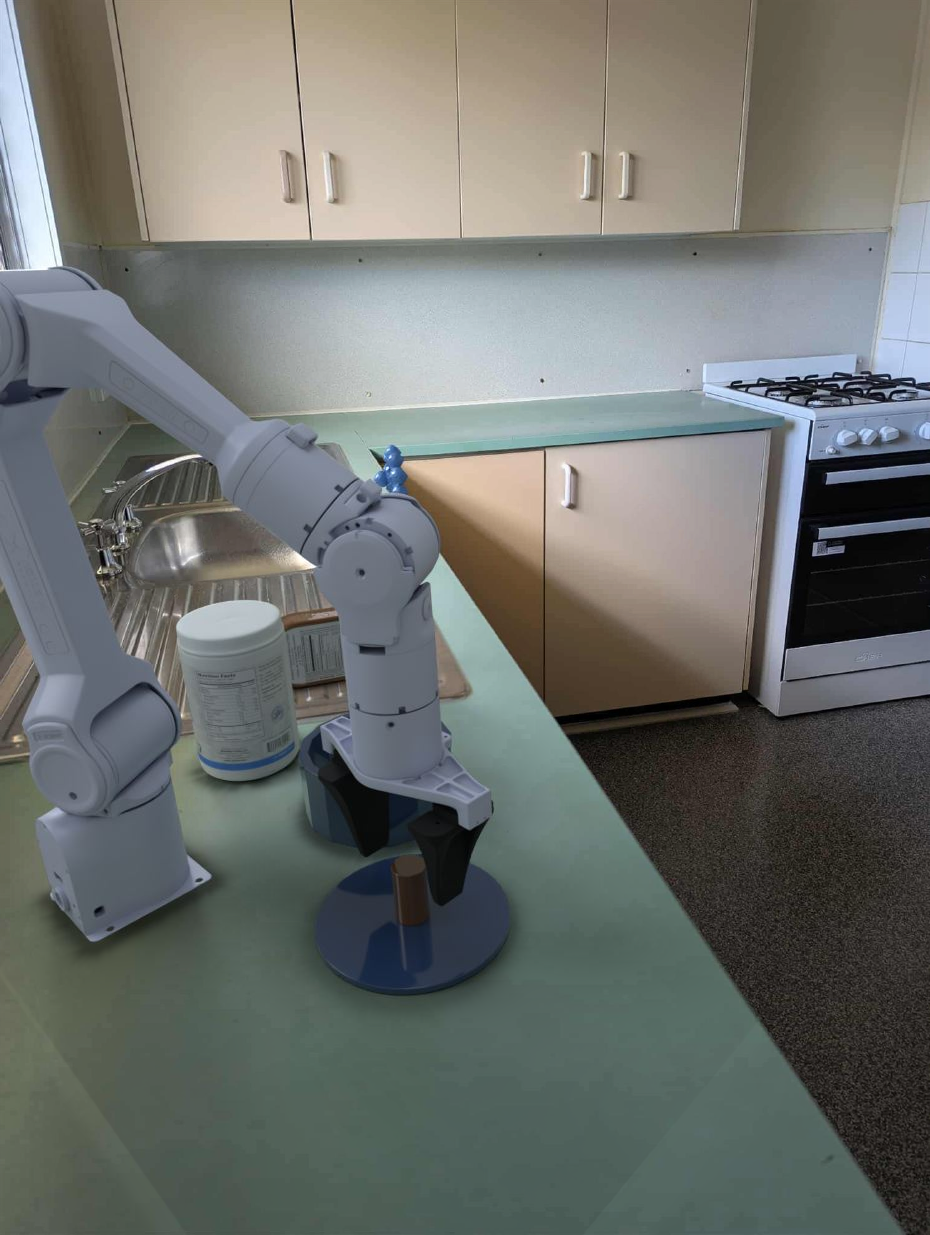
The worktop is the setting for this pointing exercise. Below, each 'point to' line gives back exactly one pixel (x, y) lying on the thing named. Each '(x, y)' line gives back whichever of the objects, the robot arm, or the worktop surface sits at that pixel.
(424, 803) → the crock
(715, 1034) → the worktop surface
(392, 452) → the grapes
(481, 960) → the lid
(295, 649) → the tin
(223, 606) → the supplement tub
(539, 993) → the worktop surface
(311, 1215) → the worktop surface
